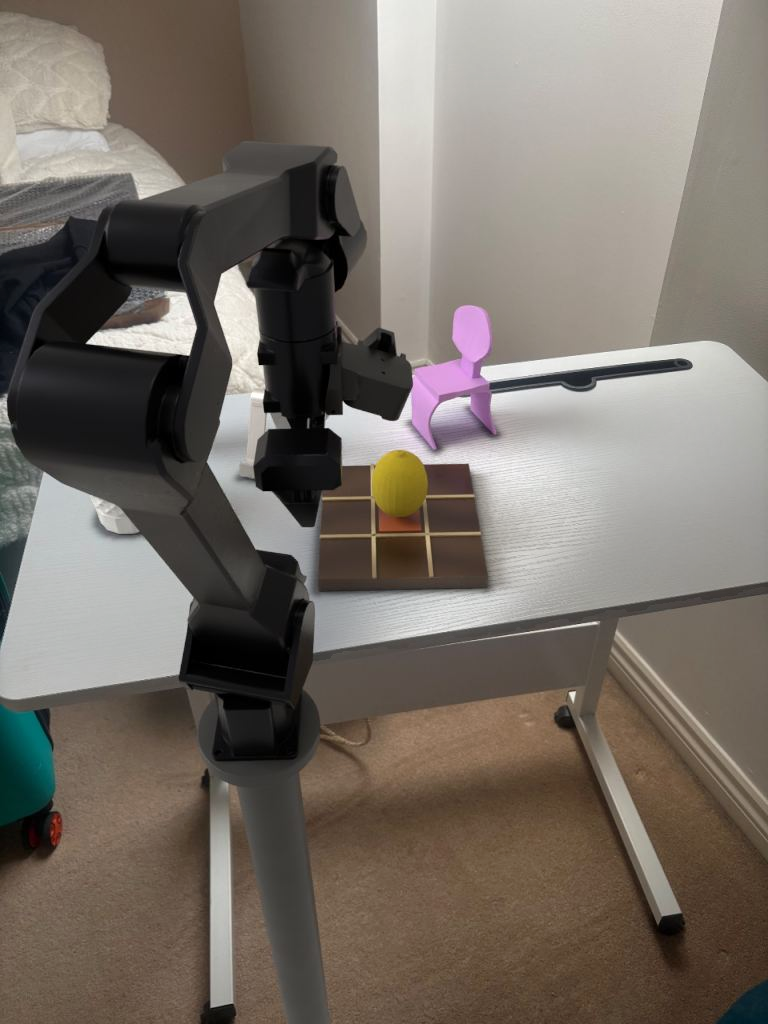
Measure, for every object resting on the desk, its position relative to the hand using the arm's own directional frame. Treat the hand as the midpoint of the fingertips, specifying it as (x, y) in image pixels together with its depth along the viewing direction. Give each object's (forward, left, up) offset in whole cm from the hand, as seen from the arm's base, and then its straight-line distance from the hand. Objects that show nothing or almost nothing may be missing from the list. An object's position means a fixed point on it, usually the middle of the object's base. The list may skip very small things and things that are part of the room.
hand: (310, 491), depth 71 cm
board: (+9, -8, -12) cm, 17 cm away
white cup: (+12, +20, -12) cm, 26 cm away
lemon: (+9, -8, -10) cm, 16 cm away
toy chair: (+27, -15, -12) cm, 33 cm away
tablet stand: (+20, +4, -12) cm, 24 cm away
